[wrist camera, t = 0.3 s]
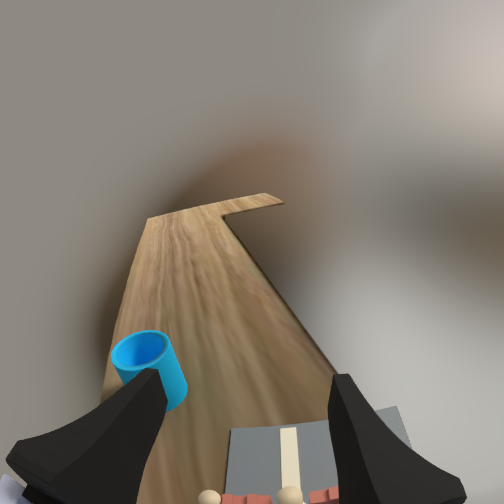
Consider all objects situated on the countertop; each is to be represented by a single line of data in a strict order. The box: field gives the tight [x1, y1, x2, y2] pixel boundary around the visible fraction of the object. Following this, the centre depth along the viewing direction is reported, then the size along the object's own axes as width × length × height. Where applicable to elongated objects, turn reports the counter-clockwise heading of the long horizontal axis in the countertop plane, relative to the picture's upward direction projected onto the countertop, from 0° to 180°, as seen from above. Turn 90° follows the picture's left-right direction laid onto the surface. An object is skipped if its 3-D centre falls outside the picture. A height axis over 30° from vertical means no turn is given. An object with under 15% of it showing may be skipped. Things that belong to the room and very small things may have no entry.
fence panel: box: [309, 486, 339, 504], centre depth 17 cm, size 10×2×5 cm, turn 88°
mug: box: [111, 330, 188, 412], centre depth 34 cm, size 12×8×8 cm
